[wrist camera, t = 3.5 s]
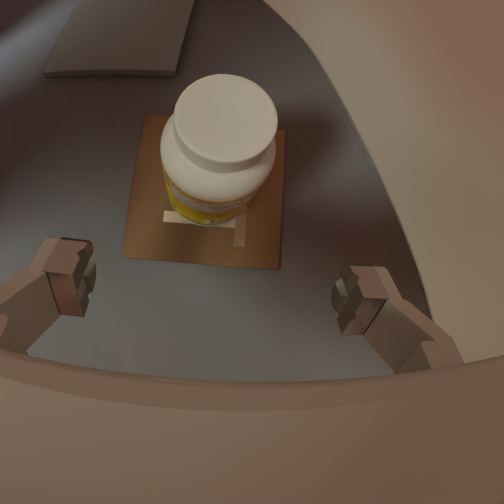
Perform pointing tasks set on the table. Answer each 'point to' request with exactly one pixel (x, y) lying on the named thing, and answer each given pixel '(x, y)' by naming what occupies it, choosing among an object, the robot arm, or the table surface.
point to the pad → (121, 38)
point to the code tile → (196, 236)
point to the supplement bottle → (218, 148)
